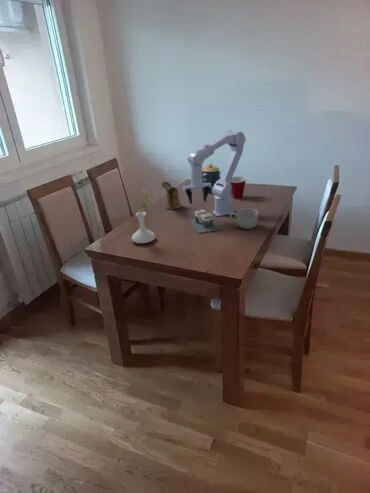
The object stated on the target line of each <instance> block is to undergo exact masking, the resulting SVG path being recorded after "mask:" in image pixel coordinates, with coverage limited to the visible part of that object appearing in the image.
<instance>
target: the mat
mask: <svg viewBox="0 0 370 493" xmlns="http://www.w3.org/2000/svg"><path fill="white" fill-rule="evenodd" d="M188 222H189V224H190V225H191V226H192V227H193V229H194V231H196V233H197V234H199V235H200V234H207V233H212V232H219V231H222V228H221V227H220V225H218V223H216V221H215V220H214V219H213V226H212V227H211V226H210V220H209V221H207V228H204V221H202V219H200V218H199V223H196V220H195V218H194V219H193V218H192V219H188Z"/></svg>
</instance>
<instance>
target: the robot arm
mask: <svg viewBox="0 0 370 493" xmlns="http://www.w3.org/2000/svg"><path fill="white" fill-rule="evenodd" d="M246 139H247V138H246V136H245V134H244V132H242V131H236V130H235V131H234V130H231V129H229V130H227V131H226V132H224V133H223V134H222V135H221V136H220V137H218V138H217V139H216V140H215V141H214V142H212V143H211V144H209V143H207V144H205V143H204V145H203V146H202V147H201V148H199V149H196V151H195V152H194V151H193V152H191V153H189V156H188V158H187V161H188V163H189V165H190V182H191V184H188V185H186V186H185V185H184V186H182V190H183V192H185V194H186V196H187V199H188V201H189V204H191V205H192V204H193V197H192V196H193V195H192V194H193V192H192V190H197V189H201V188H203V192H202V194H203V195H202V196H203V202H204V203H205V202H207V198H208V196H209V195H208V194H210V193H209V191H210V188H209V187H211V183H203V180H202V169H203V164H204V162H205V160H207V159H208V158H209V157H211V156H213V155H214V153H215V151H216V150H218V149H219V148H221V147H223V146H224V145H228V146H229V147H230V150H231V152H230V154H229V156H228V159H227V162H226V164H225V167H224V169H223V171H222V174H221V175H220V177H221V178H220V179H219V180H218V181H216V184H215V185H214V186H213V187H212V193H211V194H212V195H213V197H214V210H212V213H213V215H215V216H216V217H222V216H227V215H229V216H230V214H231V213H232V212H234V209H233V208H234V207H233V206H234V204H233V203H234V201H233V197H231V194H232V190H231V188H232V186H231V184H230V181H231V179H232V177H234V174H235V171H236V169H237V166H238V164H239V162H240V160H241V157H242V156H243V153H244V152H243V151H244V144H245V142H246Z"/></svg>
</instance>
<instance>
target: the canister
mask: <svg viewBox="0 0 370 493" xmlns="http://www.w3.org/2000/svg"><path fill="white" fill-rule="evenodd" d="M219 179H221V171H220V168H219V167H218V166H216V165H213V164H212V163H208V165H207V166H204V167H202V180H203V183H211V187H209V188H210V191H209V193H208V194H213V193H212V187H213V186H214V185H215V184H216V181H218V180H219ZM200 190H201V192H202V193H203V188H200Z"/></svg>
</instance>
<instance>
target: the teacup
mask: <svg viewBox="0 0 370 493" xmlns="http://www.w3.org/2000/svg"><path fill="white" fill-rule="evenodd" d="M233 215H234V216H235V218H236V219H235V218H233ZM229 219H230V220H231V221H233V222H234V223H235V224H237V225H238V226H239V227H240V228H242V229H244V230H251V229H254V228H255V227H257V225H258V222H259V211H258V210H257V209H256V208H255V209H254V208H252V207H250V208H249V207H246V208H244V207H243V208H241V209H238V210H237V211H236V212H234V211H233V212H232V213H231V214H229Z"/></svg>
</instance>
